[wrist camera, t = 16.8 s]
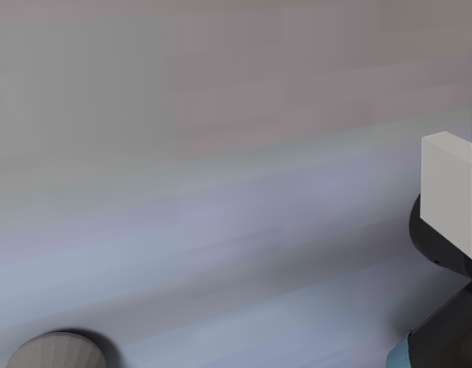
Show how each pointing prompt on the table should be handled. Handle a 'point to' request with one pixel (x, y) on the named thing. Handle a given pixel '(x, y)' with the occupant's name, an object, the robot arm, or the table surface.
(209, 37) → the table surface
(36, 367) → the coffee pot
